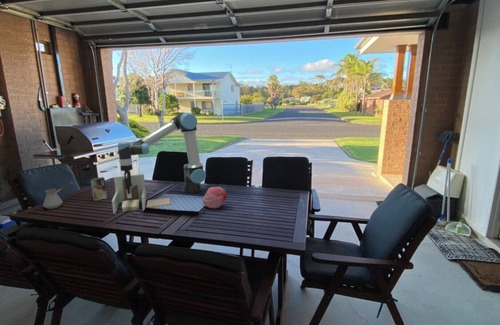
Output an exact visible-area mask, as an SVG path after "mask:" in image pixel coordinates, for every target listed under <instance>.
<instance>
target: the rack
mask: <svg viewBox="0 0 500 325" xmlns="http://www.w3.org/2000/svg"><path fill="white" fill-rule="evenodd" d="M122 179H125V177H124V175H120V176H113V180H114V188H115V194H114V195H113V198H112V200H111V206H112V214H113V215H114V214H116V213H117V210H118V208H119V205H120V204H122V203H123V199H124V191H123V181H122ZM131 183H132V184H131V185H132V188H133V187H134V186H136V185H138V196H139V202H141V206H142V211H144V210H146V204H147V202H146V201H147V194H146V184H145V183H146V182H145V175H144V174H142V173H141V174H131Z"/></svg>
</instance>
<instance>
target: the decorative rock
mask: <svg viewBox="0 0 500 325" xmlns="http://www.w3.org/2000/svg"><path fill="white" fill-rule="evenodd" d="M227 195H228V193H227V192H226V189H224V188H223V187H221V186H212V187H208V189H207V190H206V193H205V195H204V196H203V198H202V204H203V205H204V206H205V207H207V208H210V209H213V210H214V209H218V208H220V207H221V206H222V205H223V204H224V203H225V202H226V199H227Z"/></svg>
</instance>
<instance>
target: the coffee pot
mask: <svg viewBox="0 0 500 325" xmlns="http://www.w3.org/2000/svg"><path fill="white" fill-rule="evenodd" d="M70 184H71V185H72V184H73V182H72V181H69V182H67V183H66V184H65V185H63V186H62V187H60V189H58V190H57V188H49V189H48V188H47V189H45V191H44V192H46V194H45V198H44V200H43V204H42V206H43V208H46V209H47V210H53V209H57V208H60V207H61V206H62V205H63V200H62V199H61V197H60V196H59V195H58V194H57V193H58V192H60V191H61V190H62V189H65V188H66V187H67V186H68V185H70Z"/></svg>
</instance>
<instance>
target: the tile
mask: <svg viewBox="0 0 500 325" xmlns="http://www.w3.org/2000/svg"><path fill="white" fill-rule="evenodd" d="M146 201H147V202H146V208H155V207H165V206H171V204H172V203H171V198H170V197H162V198H156V199H155V198H154V199H149V200H147V199H146Z"/></svg>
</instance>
